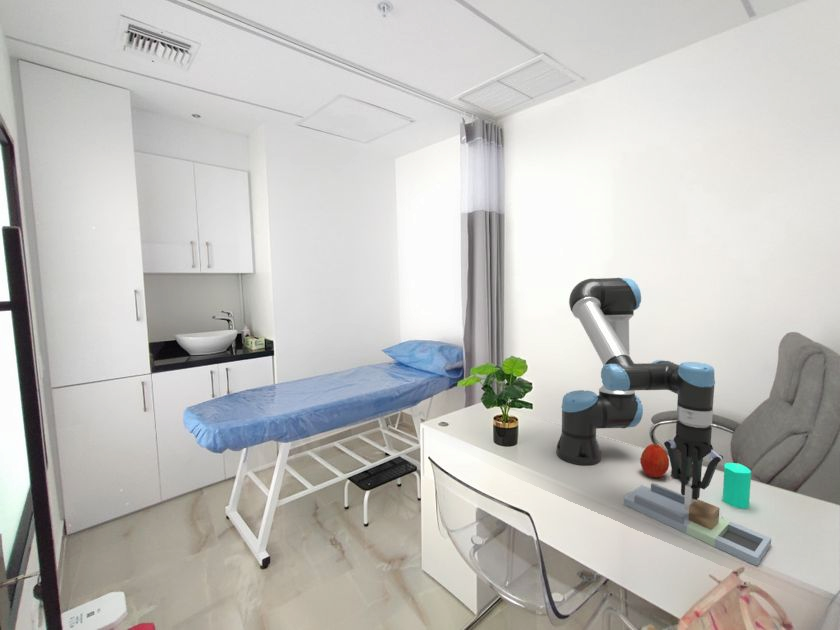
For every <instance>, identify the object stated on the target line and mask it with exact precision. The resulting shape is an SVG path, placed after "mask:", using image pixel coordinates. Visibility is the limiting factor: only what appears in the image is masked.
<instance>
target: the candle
mask: <svg viewBox="0 0 840 630" xmlns="http://www.w3.org/2000/svg"><path fill="white" fill-rule="evenodd" d="M751 482H752V471H751V469H749V468H748V467H747V466H745V465H743V464H741V463H738V462H737V463H735V462H726V463H724V469H723V483H722V484H723V486H722V501H723V502H724V503H726V504H727V505H729V506H730V507H734V508H737V509H745V510H746V509H749V507H750V497H751V484H752V483H751Z"/></svg>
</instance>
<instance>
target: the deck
mask: <svg viewBox="0 0 840 630" xmlns="http://www.w3.org/2000/svg"><path fill="white" fill-rule="evenodd" d="M684 501H685V495H682V494H681V493H679V492H676V491H674V490H671V489H669V488H667V487H663V486H662V485H659V484H658V483H654V482H652V483H650V487H648V486H645V485H643V484H641V485H640V486H638V487H636V488H635V489H634V490H633V491H631V492H630V493H628V494H627V495H625V496H624V497H623V503H622V504H623V505H624V506H627V507H629V508H630V509H633V510H635V511H638V512H639V513H641V514H644V515H646V516H647V517H650V518H652V519H655V520H657V521H658V522H661V523H663V524H664V525H667V526H669V527H672V528H674V529H675V530H678V531H680V532H682V533H684V534H687V535H689V536H691V537H693V538H695V539H698V540H700V541H702V542H704V543H706V544H709V545H711V546H712V547H714V548H717V549H719V550H720V551H723V552H726V553H728V554H729V555H732V556H733V557H734V556H735V557H736V558H738V559H741V560H742V561H745V562H747V563H749V564H751V565H753V566H756V567H757V566H759V563H760V562H761V561H762V559H763V558H764V556H765V554H767V552H768V551H769V549H770V548H771V545H772V537H770V536H768V535H765V534H763V533H760V532H758V531H755V530H753V529H751V528H748V527H745V526H744V525H741V524H738V523H737V522H736V523H735V522H733V521H731V520H728V519H726V518H723V517H721V516H719V523H718V524H717V525H716V526H715V527H714V528H713V529H712V530H710V529H708V528H705V527H703V526H701V525H699V524H696V523H694V522H692V521H689V511H688V510H686V509H684Z"/></svg>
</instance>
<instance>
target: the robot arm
mask: <svg viewBox="0 0 840 630" xmlns="http://www.w3.org/2000/svg"><path fill="white" fill-rule="evenodd" d="M641 303H642V293H641V289H640V287H639V284H637V283H636V281H635V280H633V279H632V278H629V277H627V278H626V277H612V278H611V277H608V278H606V277H605V278H587V279H584V280H582V281H580V282H579V283H577V284H576V285H575V286H574V287H573V289H572V290H571V292H570V295H569V300H568V305H569V309H570V311H571V314H572V315H573V316H574V318H576V319H578V320H579V321H580V324H581V325H582V328H583V329H584V331H585V333H586V335H587V337H588V338H589V340H590V342H591V344H592V346H593V348H594V350H595V352H596V353H597V355H598V357H599V360H600V361H601V363H602V368H601V371H600V379H601V383H602V386H600V388H599V389H598V394H597V393H596V392H594V391H591V390H583V389H580V390H579V389H578V390H572V391H569V392H566V394H564V395H563V397H562V400H561V401H562V402H561V434H560V437H559V439H558V441H557V445H556V447H555V448H556V451H555V452H556V453H555V454H556V455H557V456H558V458H560V459H561V460H563V461H565V462H568V463H570V464H573V465H574V464H575V465H579V466H581V465H582V466H592V465H595V464H598V463H600V462H601V460H602V452H601V450H600V445H599V442H598V439H597V429H627V428H634V427H636V426H638V425H639V424H640V422H641V421H642V419H643V414H644V413H643V411H644V409H643V407H644V406H643V404H642V400H641V398H640V396H638V395H636V391H670V392H672V393H675V394H676V395H677V400H676V401H677V404H676V405H677V407H676V419H677V420H676V421H675V423H676V426H675V436H674V437H673V439H668V440H666V441H664V442H663V445H664V447H665V448H666V450H667V453H668V454H667V455H668V459H669V464H670V467H671V469H672V473H673V477H672V478H674V479H675V480H677V481H679V482H680V485H681V486H680V494H682V495H684V496H685V501H684V509H686V510H688V511H689V505H691V504H692V503H693V502H694V501H695V500H697V499H698V500H699V498H700V496H701V495H700V494H701V492H700V491H701V489H702V490H706V489H707V488H708V487H709V486H710V484H711V481H712V480H713V476H714V474H715V472H716V469H717V466H718V464H719V463H720V462H721V461H723V460H724V456H723V455H722V454H718V453H717V452H715V450H714V447H713V445H712V431H713V430H712V429H713V428H712V426H711V425H712V424H713V416H714V415H713V413H714V408H713V407H714V397H715V396H714V393H715V385H716V379H715V368H714V367H713V366H712V365H710V364H708V363H702V362H696V361H684V362H680V364H678V363H674V362H672V361H670V360H665V359H657V360H655V361H652V362H649V363H646V362H645V363H643V362H642V363H636V362H635V363H634V361H633V359H632V358H631V356H630V319H632V317H633V316H634V315H635V314H634V311H636V310H638V309H639V307H640V306H641ZM676 445H677V447H678V448H679V450H680V452H681V459H682V465H681V467H680V463H679V458H678V453H677V449H676ZM708 455H709V458H708V459H709V460H710V461H709V462H708V464H707V467H706V470H705V472H704V475H703V477H702V471H703V469H702V467H703V460H704V458H705V457H707V456H708ZM691 458H692V462H693V472H692V477H690V463H691ZM690 481H691V482H690Z"/></svg>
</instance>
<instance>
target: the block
mask: <svg viewBox="0 0 840 630" xmlns="http://www.w3.org/2000/svg"><path fill="white" fill-rule="evenodd" d="M719 517H720V507H719V506H716V505H715V504H710V503H709V502H706V501H703V500H701V499H699V498H698V499H697V500H695V501H694V502H693V503H692V504H691V505H689V521H692V522H694V523H696V524H699V525H701V526H703V527H705V528H708V529H710V530H712V529H713V528H714V527H715V526H716V525H717V524H718V523H719Z"/></svg>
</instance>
